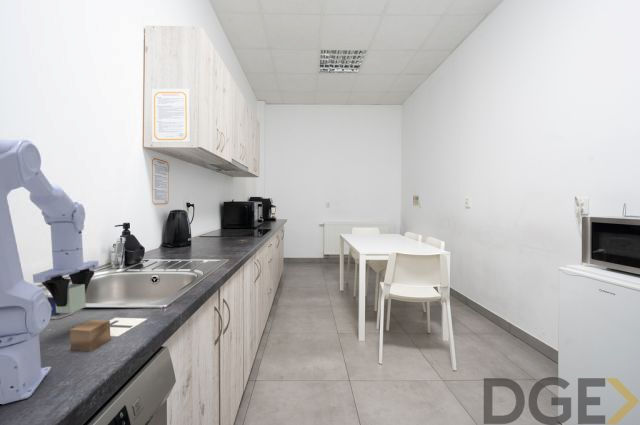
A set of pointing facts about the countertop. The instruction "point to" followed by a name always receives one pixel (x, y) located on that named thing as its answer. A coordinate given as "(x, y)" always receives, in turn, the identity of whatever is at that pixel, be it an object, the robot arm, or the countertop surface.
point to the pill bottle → (53, 309)
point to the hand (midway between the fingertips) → (71, 302)
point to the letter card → (123, 325)
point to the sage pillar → (74, 299)
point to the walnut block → (90, 335)
